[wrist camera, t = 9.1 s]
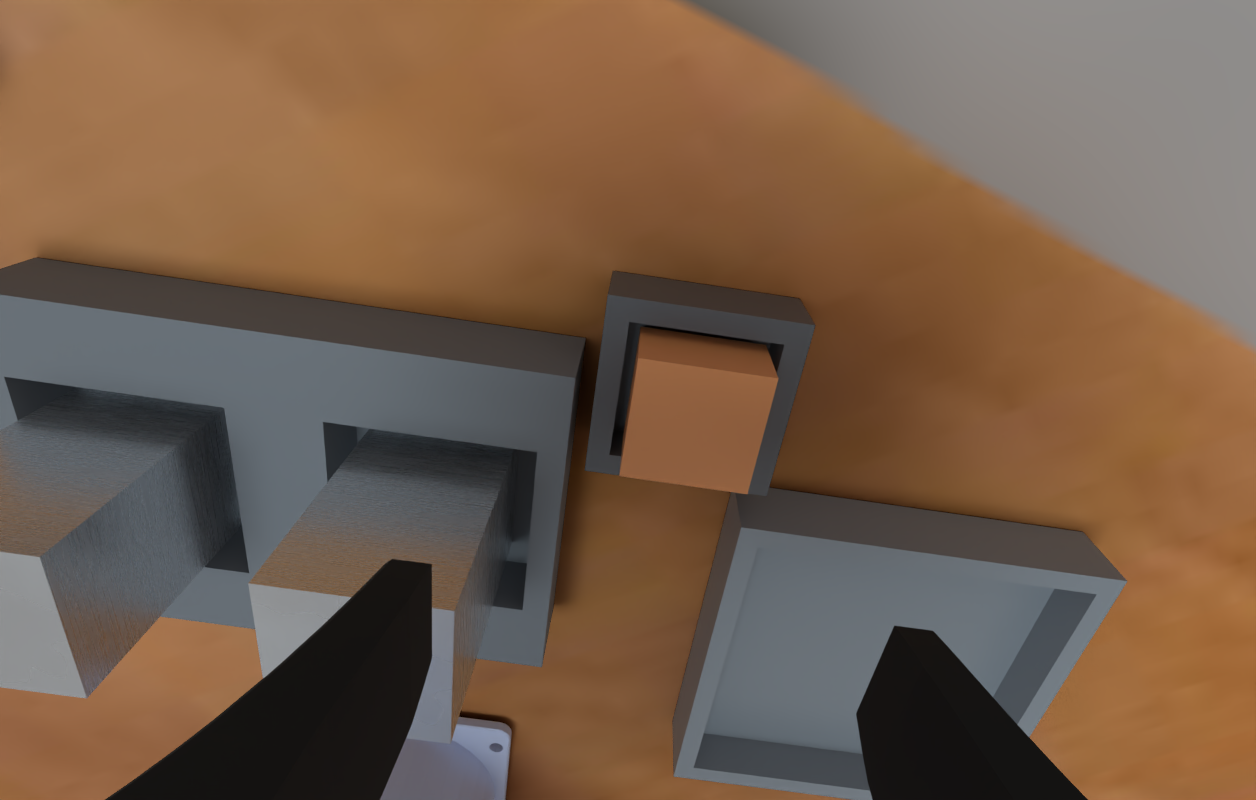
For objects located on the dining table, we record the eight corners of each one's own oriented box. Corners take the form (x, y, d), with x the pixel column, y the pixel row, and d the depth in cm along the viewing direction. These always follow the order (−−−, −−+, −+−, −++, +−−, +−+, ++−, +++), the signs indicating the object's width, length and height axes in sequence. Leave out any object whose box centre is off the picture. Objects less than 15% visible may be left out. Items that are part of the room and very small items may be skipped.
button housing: (757, 457, 20) (766, 496, 18) (591, 434, 20) (584, 470, 18) (799, 298, 18) (815, 325, 16) (613, 270, 18) (607, 294, 16)
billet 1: (257, 508, 21) (86, 698, 15) (127, 489, 21) (-100, 674, 15) (241, 394, 19) (39, 557, 13) (99, 374, 19) (-174, 528, 13)
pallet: (553, 606, 23) (541, 666, 21) (113, 546, 23) (51, 601, 20) (586, 338, 19) (575, 378, 16) (36, 257, 18) (-56, 286, 16)
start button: (738, 452, 18) (747, 494, 17) (623, 435, 18) (619, 476, 17) (765, 344, 17) (778, 378, 15) (640, 326, 17) (638, 358, 15)
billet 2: (512, 541, 21) (450, 744, 15) (385, 524, 21) (269, 720, 15) (520, 432, 19) (454, 610, 13) (381, 412, 19) (248, 583, 13)
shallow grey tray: (954, 758, 26) (979, 815, 24) (672, 721, 25) (673, 776, 24) (1082, 531, 21) (1127, 581, 19) (733, 482, 20) (741, 527, 19)
